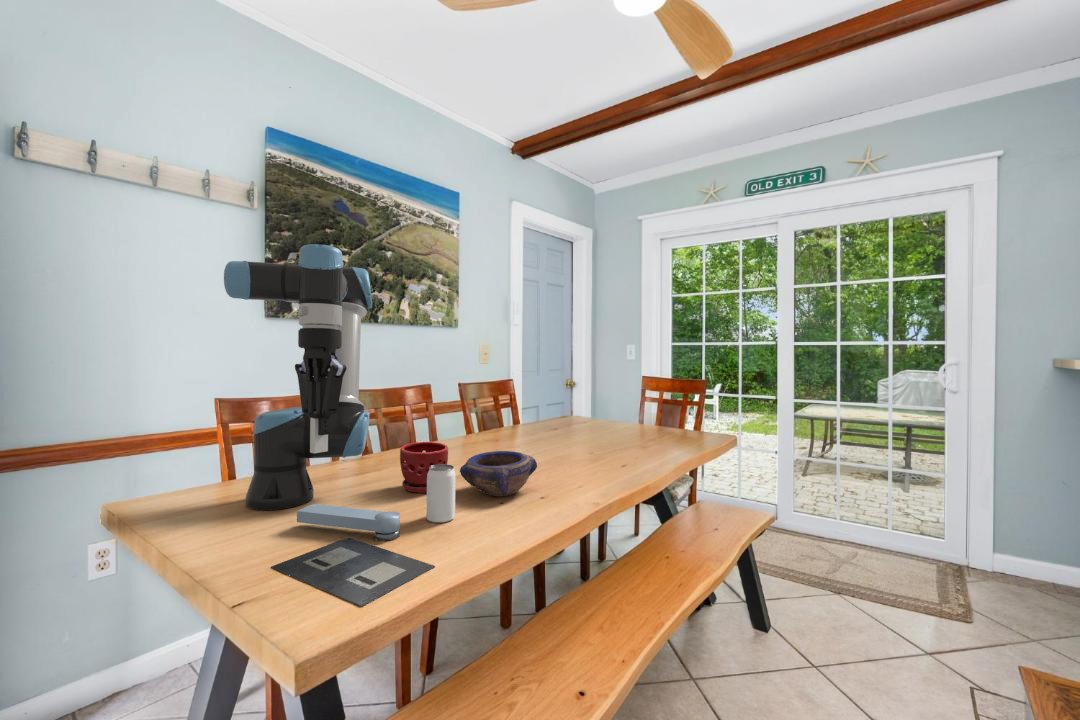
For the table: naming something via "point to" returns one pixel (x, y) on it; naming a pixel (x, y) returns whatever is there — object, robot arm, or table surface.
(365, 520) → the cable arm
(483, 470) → the bowl
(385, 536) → the arm pivot
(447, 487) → the can
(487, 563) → the table surface
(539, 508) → the table surface
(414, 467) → the plant pot
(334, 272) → the robot arm
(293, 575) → the label panel
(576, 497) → the table surface
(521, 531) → the table surface
